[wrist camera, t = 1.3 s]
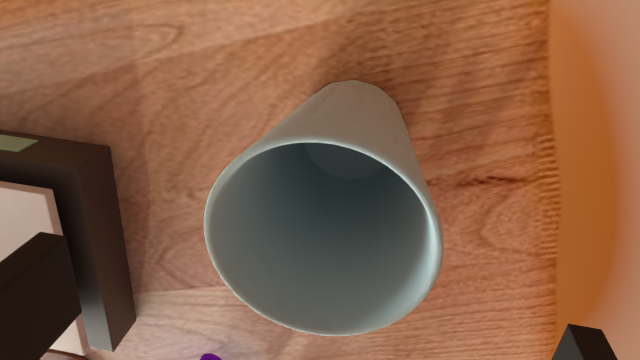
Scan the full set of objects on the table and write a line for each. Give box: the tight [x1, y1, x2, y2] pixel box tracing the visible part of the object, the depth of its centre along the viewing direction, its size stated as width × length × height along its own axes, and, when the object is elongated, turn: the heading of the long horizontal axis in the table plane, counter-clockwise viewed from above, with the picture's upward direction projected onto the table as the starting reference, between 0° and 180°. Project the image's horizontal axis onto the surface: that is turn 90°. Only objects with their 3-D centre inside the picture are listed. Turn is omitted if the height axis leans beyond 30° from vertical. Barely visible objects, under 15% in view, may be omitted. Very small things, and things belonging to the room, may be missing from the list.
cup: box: [204, 80, 443, 336], centre depth 19 cm, size 8×8×10 cm
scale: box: [0, 130, 136, 355], centre depth 28 cm, size 14×14×4 cm
